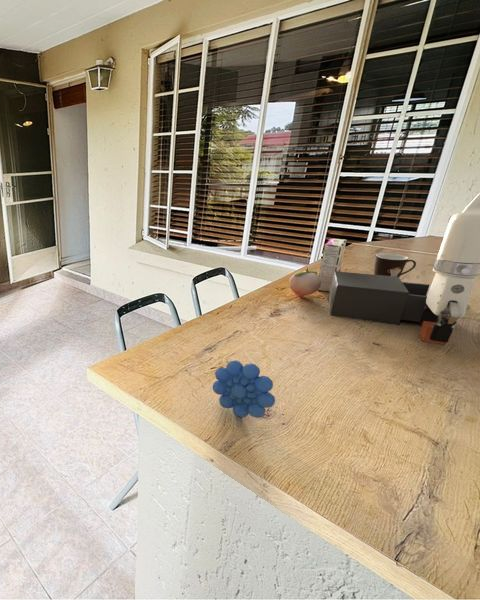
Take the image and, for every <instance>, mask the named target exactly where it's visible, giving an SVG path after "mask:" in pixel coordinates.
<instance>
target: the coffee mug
mask: <svg viewBox="0 0 480 600" xmlns="http://www.w3.org/2000/svg"><path fill="white" fill-rule="evenodd" d="M409 262H412V263H413V265H412V266H411V267H410V268H409V269H408V270H406V271H404V268H405V267H406V265H407V263H409ZM416 266H417V262H416V261H415V260H413V259H409V257H408V256H406V255H401V254H397V253H377V254H375V259H374V269H373V275H383V276H394V277H399V278H400V277H401V276H403V275H405V274H407V273H409V272H411V271H412V270H414V269H415V268H416Z"/></svg>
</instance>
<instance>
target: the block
mask: <svg viewBox="0 0 480 600" xmlns="http://www.w3.org/2000/svg"><path fill="white" fill-rule="evenodd" d="M434 324H436V325H437V323H436V322H429V321H423V324H422V325H421V328H420V330H419V333H418V335H419V337H420V339H421V341H422V342H426V343H431V344H432V343H433V344H438V345H445V344H446V343H445V342H438V341H432V340H430V339H429V338H430V335H431V332H432V329H433V327H434Z"/></svg>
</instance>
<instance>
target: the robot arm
mask: <svg viewBox="0 0 480 600" xmlns="http://www.w3.org/2000/svg"><path fill="white" fill-rule="evenodd" d="M432 272H434V273H435V274H434V277H433V280H432V282H431V284H430V285H429V288H428V291H427V294H426V296H427V298H426V305H425V310H424V311H423V314H422V316H421V319H420V322H418V323H419V325H421V326H422V324H423V321H429V322H436V323H437V325H436V324H434V327H433V329H432V332H431V335H430V338H429V339H430V340H432V341H438V342H445V344H446V343H449V341H450V338H451V336H452V333H453V330H454V329H455V327H456V324H457V323H458V322H457V320H458V319H463V318H464V316H465V314H466V311H467V310H466V308H467V305H469V302H470V299H471V296H472V292H473V289H474V285H475V284H474V283H475V278H478V277H479V276H480V192H479V193H477V195H476V196H475V197H474V198H473V199H472V200H471V201H470V202H469V203H468V205H466V206H465V208H464V209H463V211H462V212H457V213H454V214H453V215H451V217H450V220H449V221H448V224H447V227H446V230H445V233H444V235H443V239H442V242H441V244H440V248H439V250H438V253H437V256H436V258H435V261H434V265H433V267H432ZM442 312H444V313H442ZM445 313H449V314H445ZM442 317H445V319H444V320H443V321H442Z"/></svg>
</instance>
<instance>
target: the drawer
mask: <svg viewBox="0 0 480 600" xmlns="http://www.w3.org/2000/svg"><path fill="white" fill-rule="evenodd" d="M402 283H403V284H404V286H405V287H406V289H407V290H408V292H409V295H408V298H407V301H406V304H405V307H404V311H403V314H402V317H401V320H402V321H409V322H416V323H417V322H418V323H419V322H420V319H421V316H422V314H423V311H424V310H425V305H426V298H427V295H428V292H429V289H430V284H427V283H417V282H407V281H402ZM470 309H471V306H470V305H469V304H468V305H467V308H466V311H469V310H470ZM442 313H444V312H442ZM445 314H449V313H445ZM444 319H445V317H442V321H443V320H444ZM401 320H400V321H401Z"/></svg>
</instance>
